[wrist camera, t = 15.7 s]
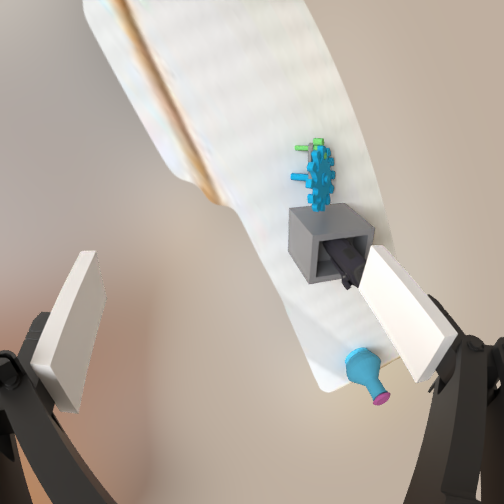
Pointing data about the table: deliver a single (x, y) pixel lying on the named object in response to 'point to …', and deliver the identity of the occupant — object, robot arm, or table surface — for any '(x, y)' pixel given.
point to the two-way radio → (346, 261)
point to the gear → (317, 174)
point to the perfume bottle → (366, 373)
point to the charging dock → (325, 238)
